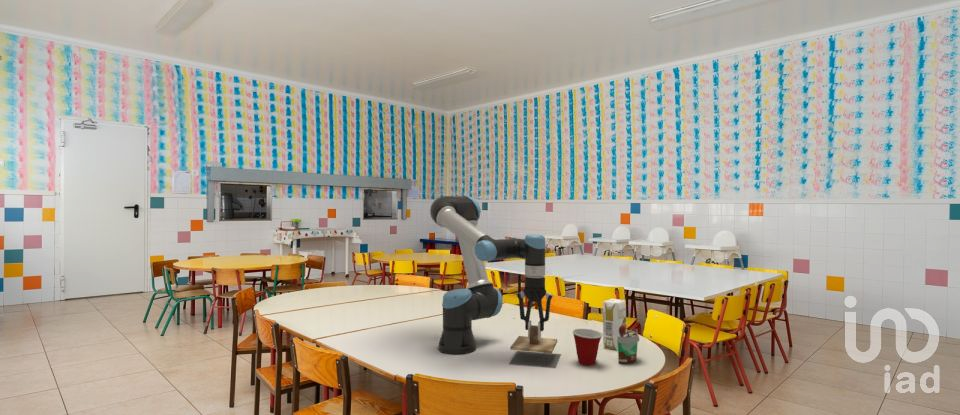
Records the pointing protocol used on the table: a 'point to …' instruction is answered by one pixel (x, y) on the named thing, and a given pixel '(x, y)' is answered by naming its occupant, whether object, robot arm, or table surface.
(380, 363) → the table surface
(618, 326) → the juice carton
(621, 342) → the food container
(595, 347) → the plastic cup
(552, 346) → the lid
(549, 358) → the mat
